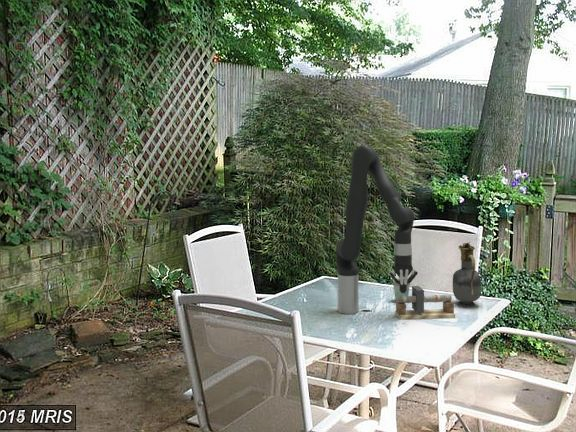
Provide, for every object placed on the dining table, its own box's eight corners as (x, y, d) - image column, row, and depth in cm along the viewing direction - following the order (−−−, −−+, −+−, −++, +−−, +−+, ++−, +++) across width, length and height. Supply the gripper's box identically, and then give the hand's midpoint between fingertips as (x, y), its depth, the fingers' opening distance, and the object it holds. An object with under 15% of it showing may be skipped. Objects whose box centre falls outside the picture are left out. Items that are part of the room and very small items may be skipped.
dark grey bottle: (473, 300, 295) (473, 238, 292) (485, 310, 276) (486, 244, 273) (450, 300, 295) (450, 239, 293) (461, 310, 277) (461, 244, 274)
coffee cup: (389, 301, 296) (388, 277, 295) (400, 298, 302) (400, 274, 301) (403, 304, 290) (403, 279, 289) (414, 301, 296) (414, 277, 294)
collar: (417, 312, 264) (417, 290, 263) (411, 307, 273) (411, 286, 272) (423, 312, 264) (424, 290, 264) (418, 307, 273) (418, 285, 272)
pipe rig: (400, 319, 264) (400, 298, 263) (395, 313, 274) (394, 293, 273) (455, 317, 265) (455, 297, 264) (448, 312, 275) (448, 292, 274)
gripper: (389, 255, 262) (389, 295, 264) (420, 254, 263) (420, 294, 264) (386, 252, 270) (386, 291, 271) (415, 251, 270) (415, 290, 272)
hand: (403, 292), depth 268 cm, fingers closed
